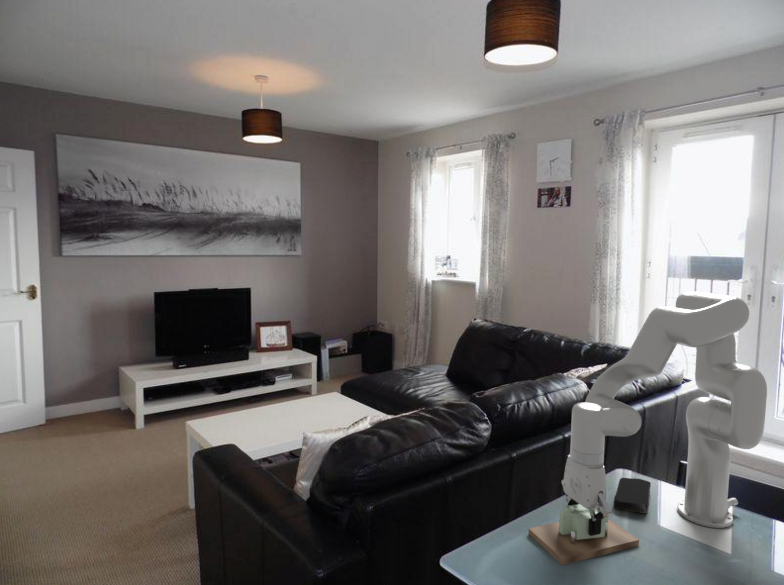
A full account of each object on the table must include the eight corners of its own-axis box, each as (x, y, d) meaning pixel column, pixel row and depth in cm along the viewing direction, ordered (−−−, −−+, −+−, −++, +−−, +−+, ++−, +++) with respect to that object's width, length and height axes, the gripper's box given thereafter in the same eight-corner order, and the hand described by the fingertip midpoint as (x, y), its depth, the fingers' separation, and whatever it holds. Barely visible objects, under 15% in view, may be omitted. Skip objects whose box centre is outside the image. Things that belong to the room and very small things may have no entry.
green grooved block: (567, 540, 122) (568, 520, 122) (554, 525, 129) (554, 506, 128) (613, 535, 125) (614, 515, 124) (598, 521, 131) (599, 502, 130)
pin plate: (599, 517, 137) (600, 501, 136) (638, 545, 125) (639, 527, 124) (528, 534, 129) (529, 516, 129) (562, 565, 117) (563, 546, 116)
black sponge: (647, 519, 137) (648, 505, 136) (612, 510, 141) (613, 497, 141) (650, 492, 151) (651, 480, 151) (619, 485, 155) (619, 473, 155)
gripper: (550, 443, 131) (548, 511, 133) (600, 473, 115) (596, 549, 117) (575, 439, 134) (572, 505, 136) (626, 468, 118) (622, 542, 120)
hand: (583, 525), depth 126 cm, fingers closed on green grooved block, 6 cm apart
